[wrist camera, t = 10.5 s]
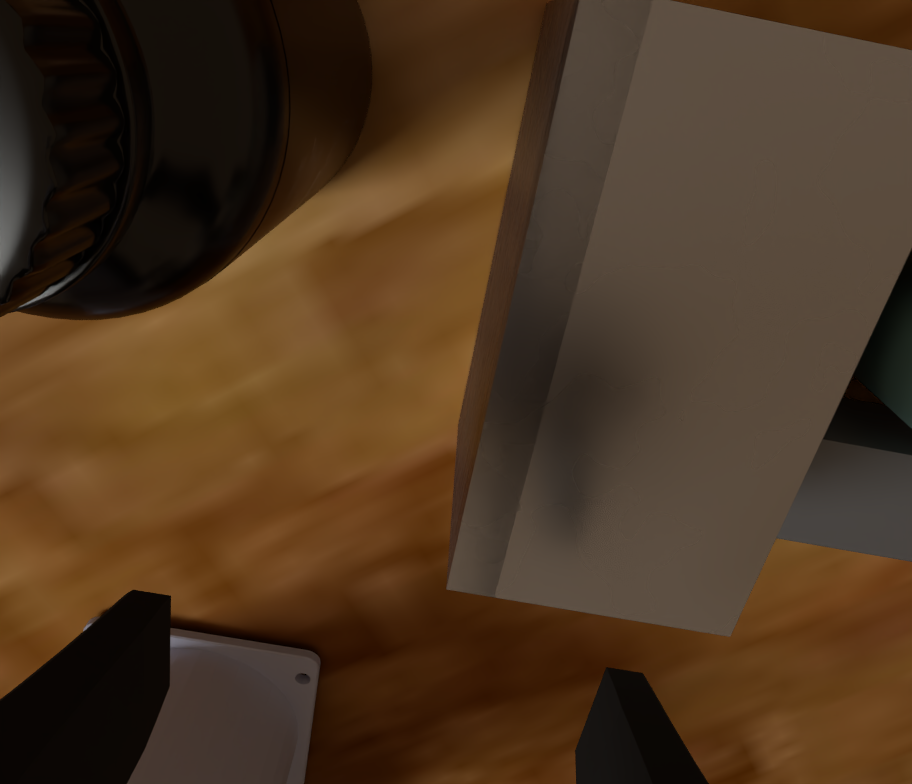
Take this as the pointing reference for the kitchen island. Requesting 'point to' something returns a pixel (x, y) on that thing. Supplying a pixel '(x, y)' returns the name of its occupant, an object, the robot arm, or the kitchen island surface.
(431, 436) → the kitchen island surface
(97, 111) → the supplement bottle
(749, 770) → the kitchen island surface
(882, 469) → the socket block
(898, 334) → the peg
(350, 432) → the kitchen island surface
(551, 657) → the kitchen island surface
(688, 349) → the grey rectangular block
